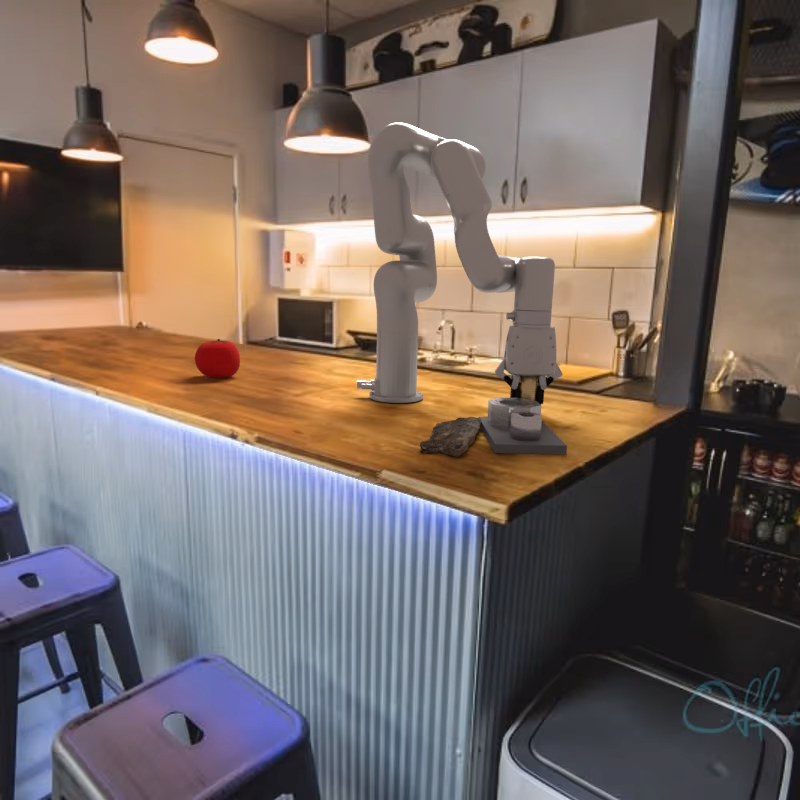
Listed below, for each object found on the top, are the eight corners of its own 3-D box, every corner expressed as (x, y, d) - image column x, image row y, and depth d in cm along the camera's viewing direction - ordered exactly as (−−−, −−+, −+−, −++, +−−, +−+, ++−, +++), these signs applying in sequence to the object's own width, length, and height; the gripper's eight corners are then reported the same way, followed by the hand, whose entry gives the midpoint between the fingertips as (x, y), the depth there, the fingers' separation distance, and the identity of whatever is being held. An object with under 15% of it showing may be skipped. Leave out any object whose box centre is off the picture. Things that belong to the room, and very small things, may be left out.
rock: (443, 424, 121) (443, 411, 121) (482, 428, 119) (483, 415, 119) (418, 457, 101) (418, 442, 101) (465, 462, 100) (466, 447, 99)
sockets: (501, 440, 105) (502, 417, 104) (485, 417, 122) (486, 396, 121) (555, 441, 105) (557, 418, 104) (532, 417, 122) (533, 397, 121)
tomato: (234, 381, 162) (232, 341, 160) (189, 380, 162) (188, 340, 160) (245, 374, 174) (244, 337, 172) (204, 373, 174) (203, 336, 172)
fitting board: (494, 453, 103) (495, 444, 102) (477, 424, 122) (478, 416, 122) (566, 454, 103) (567, 445, 103) (538, 425, 123) (538, 417, 122)
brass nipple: (517, 419, 127) (521, 370, 125) (514, 414, 131) (517, 367, 129) (537, 419, 128) (540, 371, 126) (532, 415, 131) (536, 368, 129)
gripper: (494, 319, 122) (489, 410, 125) (578, 321, 122) (571, 412, 126) (488, 316, 129) (483, 402, 133) (567, 318, 129) (561, 404, 133)
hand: (526, 406), depth 129 cm, fingers closed on brass nipple, 4 cm apart
